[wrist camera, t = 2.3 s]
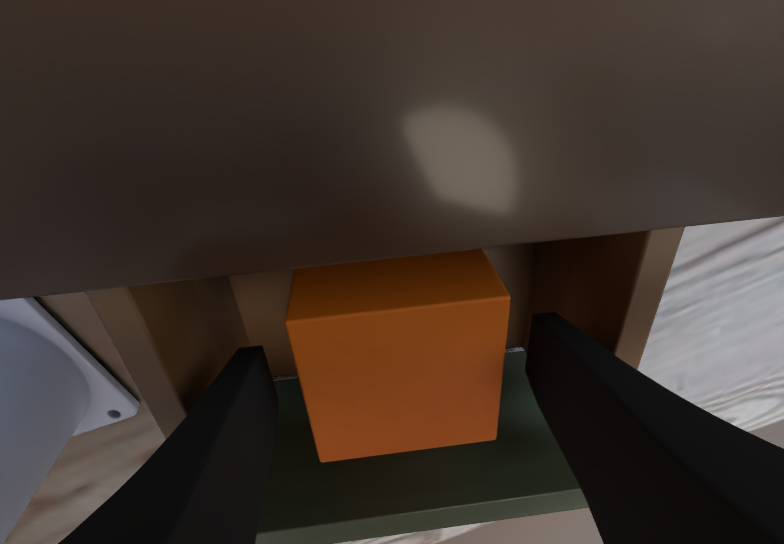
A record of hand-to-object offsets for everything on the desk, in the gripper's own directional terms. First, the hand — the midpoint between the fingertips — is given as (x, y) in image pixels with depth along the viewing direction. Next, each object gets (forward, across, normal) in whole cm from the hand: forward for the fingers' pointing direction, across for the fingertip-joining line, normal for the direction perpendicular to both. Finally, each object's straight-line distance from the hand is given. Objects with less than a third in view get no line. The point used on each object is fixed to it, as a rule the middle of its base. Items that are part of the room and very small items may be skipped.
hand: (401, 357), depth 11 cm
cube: (+4, 0, 0) cm, 4 cm away
